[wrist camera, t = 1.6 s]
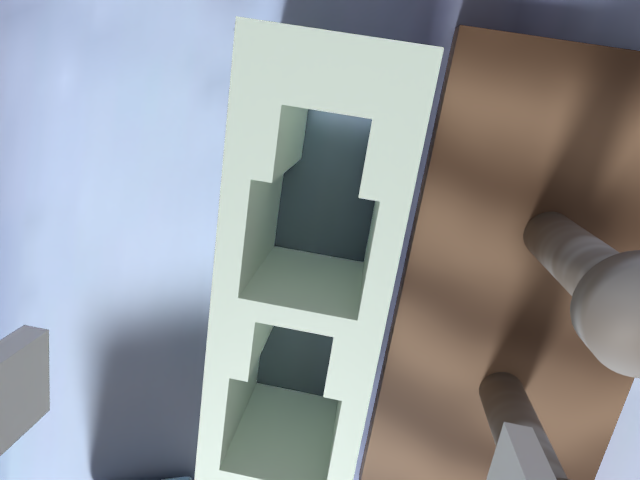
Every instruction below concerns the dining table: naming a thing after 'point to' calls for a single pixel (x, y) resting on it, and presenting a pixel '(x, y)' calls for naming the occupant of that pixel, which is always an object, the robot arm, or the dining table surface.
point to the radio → (180, 478)
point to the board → (517, 264)
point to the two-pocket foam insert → (299, 266)
